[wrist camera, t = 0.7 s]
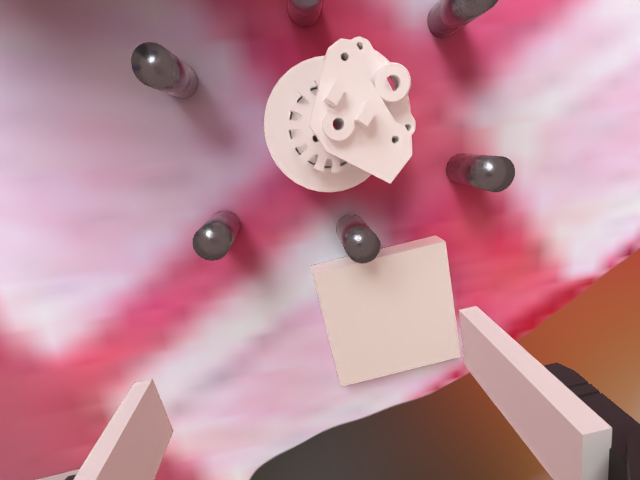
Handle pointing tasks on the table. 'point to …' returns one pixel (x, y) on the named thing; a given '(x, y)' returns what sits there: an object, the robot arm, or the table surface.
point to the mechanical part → (341, 118)
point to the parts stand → (389, 310)
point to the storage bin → (61, 475)
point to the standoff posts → (357, 238)
